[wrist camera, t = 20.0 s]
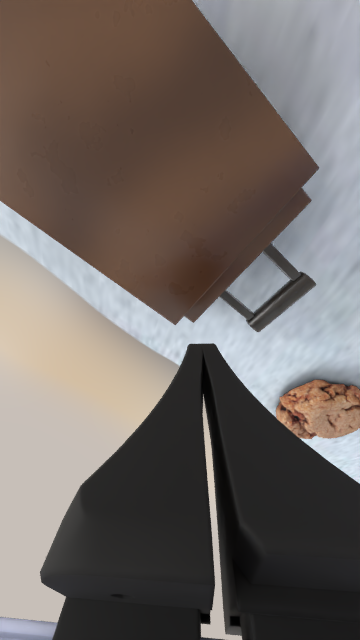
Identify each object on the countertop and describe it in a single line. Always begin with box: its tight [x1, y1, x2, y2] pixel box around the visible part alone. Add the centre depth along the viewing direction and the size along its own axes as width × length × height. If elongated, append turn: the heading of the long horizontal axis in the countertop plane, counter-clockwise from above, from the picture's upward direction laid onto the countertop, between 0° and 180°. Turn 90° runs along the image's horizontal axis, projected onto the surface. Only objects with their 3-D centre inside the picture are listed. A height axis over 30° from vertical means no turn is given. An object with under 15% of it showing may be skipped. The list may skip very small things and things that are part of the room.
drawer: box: [184, 188, 316, 332], centre depth 13 cm, size 18×10×4 cm, turn 52°
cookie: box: [276, 380, 360, 439], centre depth 22 cm, size 10×11×3 cm
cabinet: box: [0, 0, 319, 325], centre depth 12 cm, size 15×11×6 cm
